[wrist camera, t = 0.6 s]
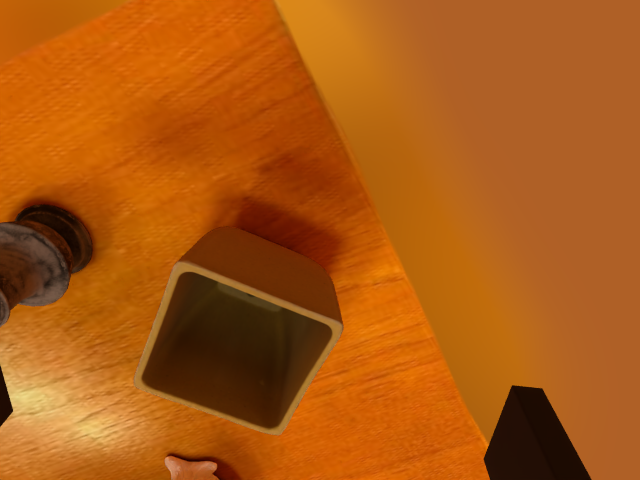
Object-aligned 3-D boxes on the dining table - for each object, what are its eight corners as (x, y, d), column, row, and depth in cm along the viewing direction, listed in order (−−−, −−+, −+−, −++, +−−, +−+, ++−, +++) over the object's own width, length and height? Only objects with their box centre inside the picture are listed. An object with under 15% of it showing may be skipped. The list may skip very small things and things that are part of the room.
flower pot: (221, 189, 29) (174, 259, 21) (345, 243, 30) (347, 327, 22) (182, 294, 32) (129, 387, 24) (294, 337, 34) (279, 439, 26)
